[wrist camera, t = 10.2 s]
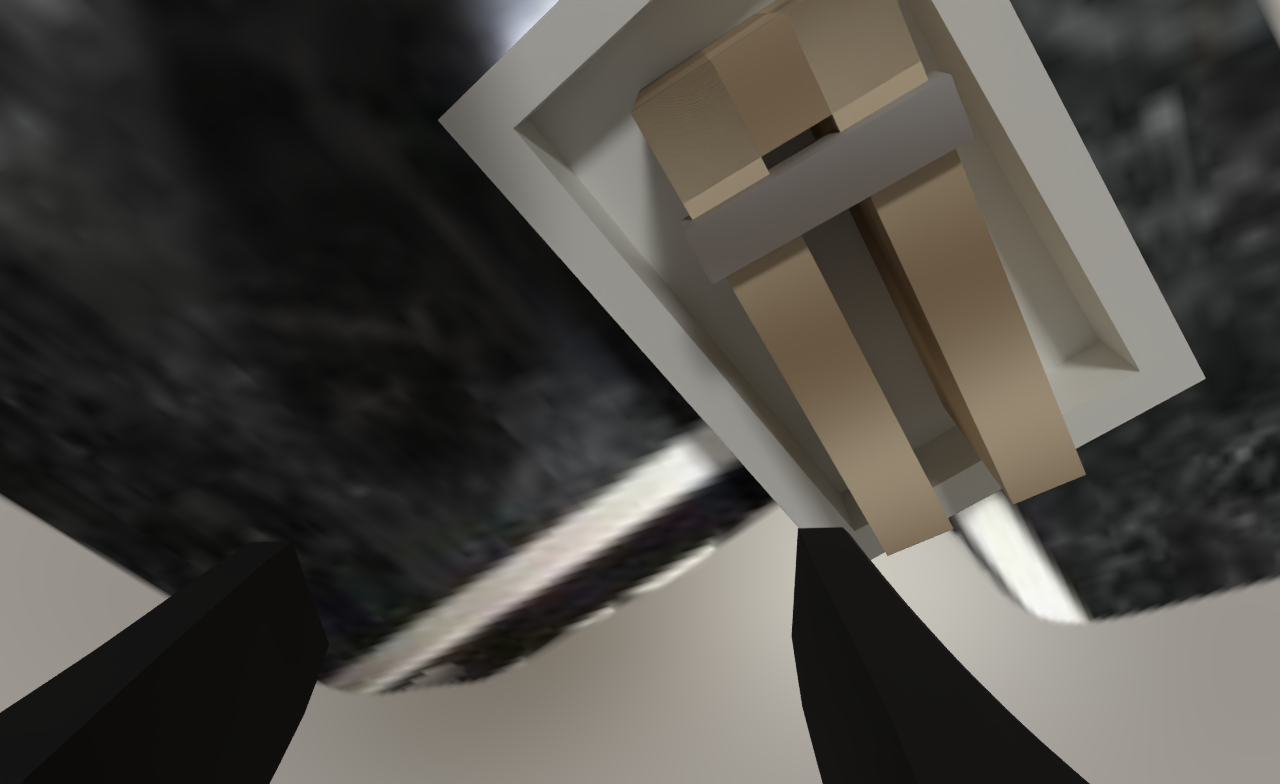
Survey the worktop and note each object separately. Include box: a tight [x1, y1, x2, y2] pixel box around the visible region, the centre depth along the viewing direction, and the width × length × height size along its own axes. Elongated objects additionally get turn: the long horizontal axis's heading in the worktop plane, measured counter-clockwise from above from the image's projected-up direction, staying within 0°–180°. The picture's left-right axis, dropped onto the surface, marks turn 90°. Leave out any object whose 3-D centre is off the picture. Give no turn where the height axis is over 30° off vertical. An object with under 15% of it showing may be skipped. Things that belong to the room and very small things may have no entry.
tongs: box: [631, 0, 1086, 556], centre depth 14 cm, size 10×4×4 cm, turn 32°
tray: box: [438, 0, 1206, 560], centre depth 15 cm, size 14×9×2 cm, turn 39°
